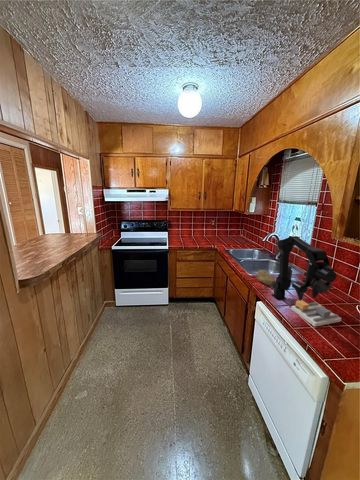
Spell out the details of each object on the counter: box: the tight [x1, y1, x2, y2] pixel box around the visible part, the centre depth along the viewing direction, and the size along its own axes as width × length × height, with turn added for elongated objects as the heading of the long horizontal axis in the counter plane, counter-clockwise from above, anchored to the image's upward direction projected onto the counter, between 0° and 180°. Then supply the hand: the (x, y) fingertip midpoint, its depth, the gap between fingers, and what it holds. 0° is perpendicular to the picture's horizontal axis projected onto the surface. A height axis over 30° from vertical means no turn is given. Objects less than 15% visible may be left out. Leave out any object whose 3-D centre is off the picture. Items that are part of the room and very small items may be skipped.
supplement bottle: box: [288, 265, 293, 280], centre depth 154 cm, size 7×7×12 cm
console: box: [290, 301, 342, 328], centre depth 113 cm, size 16×18×3 cm
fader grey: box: [316, 305, 332, 317], centre depth 108 cm, size 5×4×4 cm
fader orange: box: [295, 299, 309, 310], centre depth 114 cm, size 5×4×4 cm
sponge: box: [256, 269, 276, 287], centre depth 152 cm, size 13×8×20 cm
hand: (307, 299), depth 106 cm, fingers open, 9 cm apart
